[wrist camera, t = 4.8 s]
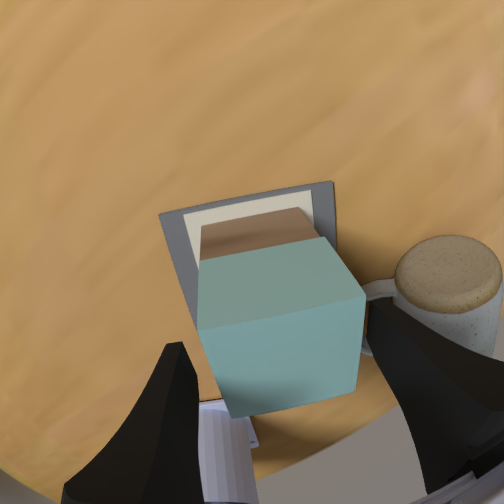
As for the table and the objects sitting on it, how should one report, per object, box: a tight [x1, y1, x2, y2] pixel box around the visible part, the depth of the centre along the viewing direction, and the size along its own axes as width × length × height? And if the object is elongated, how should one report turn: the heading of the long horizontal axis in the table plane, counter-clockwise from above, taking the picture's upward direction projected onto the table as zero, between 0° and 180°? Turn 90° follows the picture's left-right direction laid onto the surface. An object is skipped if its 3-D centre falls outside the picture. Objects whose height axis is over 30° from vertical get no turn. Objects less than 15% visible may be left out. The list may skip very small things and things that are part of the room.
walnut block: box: [200, 207, 320, 261], centre depth 15 cm, size 5×5×4 cm
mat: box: [159, 181, 336, 341], centre depth 18 cm, size 10×9×1 cm
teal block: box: [197, 237, 366, 419], centre depth 12 cm, size 5×5×4 cm
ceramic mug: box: [360, 235, 504, 358], centre depth 17 cm, size 11×8×8 cm
